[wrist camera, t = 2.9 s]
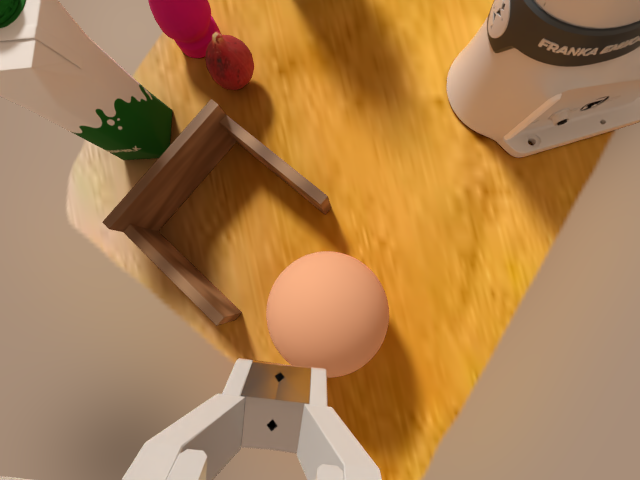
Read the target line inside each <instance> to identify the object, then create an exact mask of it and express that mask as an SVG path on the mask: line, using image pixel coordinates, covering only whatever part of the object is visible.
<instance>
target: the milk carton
mask: <svg viewBox="0 0 640 480" xmlns="http://www.w3.org/2000/svg"><path fill="white" fill-rule="evenodd" d="M0 97H2V98H4V99H6V100H8V101H11V102H13V103H15V104H17V105H20V106H22V107H24V108H26V109H28V110H30V111H32V112H34V113H36V114H38V115H39V116H41V117H43V118H45V119H47V120H49V121H51V122H53V123H55V124H57V125H59V126H61V127H62V128H64V129H66V130H68V131H70V132H72V133H74V134H76V135H78V136H80V137H82V138H84V139H85V140H87V141H89V142H91V143H93V144H95V145H97V146H99V147H101V148H103V149H104V150H106V151H108V152H110V153H112V154H114V155H115V156H117V157H119V158H121V159H123V160H134V159H151V158H160V156H161V155H162V154H163V153H164V152H165V151H166V150H167V148H168V147H169V146H170V137H171V123H172V110H171V109H170V108H169V107H168V106H166V105H165V104H164V103H163V102H161V101H160V100H159V99H158V98H156V97H155V96H154V95H153V94H151V93H150V92H149V91H148V90H146V89H145V88H144V87H143V86H142V85H141V84H140V83H138V82H137V81H136V80H135V79H134V78H133V77H132V76H131V75H130V74H129V73H128V72H126V71H125V70H124V69H123V68H122V67H121V66H120V65H119V64H118V63H117V62H115V61H114V60H113V59H112V58H111V57H110V56H109V55H108V54H107V53H105V51H104V50H102V49H101V48H100V47H99V46H98V45H97V44H96V43H95V42H94V41H93V40H92V39H90V38H89V37H88V36H87V35H86V34H85V32H84V31H83V30H82V29H81V28H80V27H79V25H78V24H77V23H76V22H75V21H74V20H73V18H72V17H71V16H70V14H69V13H68V12H67V11H66V9H65V8H64V7H63V6H62V5H61V3H59V1H58V0H0Z"/></svg>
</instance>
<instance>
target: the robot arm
mask: <svg viewBox="0 0 640 480" xmlns="http://www.w3.org/2000/svg"><path fill="white" fill-rule="evenodd" d="M447 94H448V99H449V102H450V104H451V107H452V109H453V110H454V112H455V113H456V115H457V116H458V117H459V119H460V120H461V121H462V122H463V123H464V124H466V125H467V126H468V127H469V128H471V129H472V130H474V131H476V132H478V133H480V134H482V135H484V136H486V137H489V138H491V139H493V140H495V141H496V142H497V143H498V144H499V145H500V146H501V147H502V148H503V149H504V150H505V151H507V152H508V153H509V154H510V155H512V156H514V157H518V158H519V157H525V156H528V155H532V154H535V153H538V152H542V151H545V150H548V149H552V148H555V147H559V146H562V145H565V144H569V143H572V142H575V141H579V140H582V139H586V138H589V137H592V136H596V135H599V134H603V133H606V132H609V131H613V130H616V129H619V128H623V127H626V126H629V125H632V124H636V123H638V122H640V0H494V2H493V5H492V7H491V10H490V13H489V15H488V17H487V19H486V21H485V22H484V23H483V25H482V26H481V28H480V29H479V31H478V32H477V33H476V35H475V36H474V37H473V39H472V40H471V41H470V42H469V44H468V45H467V46H466V47H465V48H464V49H463V50H462V51H461V52H460V54H459V55H458V56H457V57H456V59H455V60H454V62H453V63H452V65H451V68H450V70H449V73H448V77H447ZM528 141H530V142H531V143H532V145H529V144H528ZM241 447H246V448H258V449H270V450H277V451H283V452H290V453H297V457H298V459H299V461H300V464H301V466H302V468H303V471H304V473H305V475H306V478H307V480H382V479H381V474H380V469H379V468H378V467H377V465H376V464H375V463H374V461H373V460H372V459H371V457H370V456H369V455H368V454H367V452H366V451H365V450H364V448H363V447H362V446H361V444H360V443H359V442H358V440H357V439H356V438H355V437H354V435H353V434H352V433H351V431H350V430H349V429H348V427H347V426H346V425H345V423H344V422H343V421H342V420H341V418H340V417H339V416H338V414H337V413H336V412H335V410H334V409H333V408H332V407H328V404H327V370H326V369H324V368H313V367H311V368H309V367H300V366H291V365H283V364H277V363H270V362H263V361H257V360H248V359H241V358H238V360H237V361H236V363H235V365H234V367H233V370H232V372H231V374H230V377H229V379H228V381H227V383H226V386H225V388H224V390H223V393H222V394H216V395H215V396H213V397H212V398H210V399H209V400H207V401H206V402H204V403H203V404H201V405H200V406H198V407H197V408H195V409H194V410H192V411H191V412H190V413H188V414H187V415H185V416H184V417H183V418H181V419H179V420H178V421H176V422H175V423H173V424H172V425H170V426H169V427H167V428H166V429H164V430H163V431H161V432H160V433H159V434H157V435H156V436H154V437H153V438H151V439H150V440H148V441H147V442H145V444H144V445H143V447H142V449H141V450H140V452H139V453H138V455H137V457H136V458H135V460H134V461H133V463H132V464H131V466H130V467H129V469H128V471H127V472H126V474H125V475H124V477H123V478H122V480H213V479H214V478H215V477H216V476H217V474H219V473H220V471H221V470H222V469H223V468H224V467H225V466H226V465H227V464H228V463H229V461H230V460H231V459H232V458H233V457H234V456H235V455H236V454H237V453H238V451H239V450H240V449H241ZM0 480H31V479H22V478H13V477H3V476H0Z"/></svg>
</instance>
